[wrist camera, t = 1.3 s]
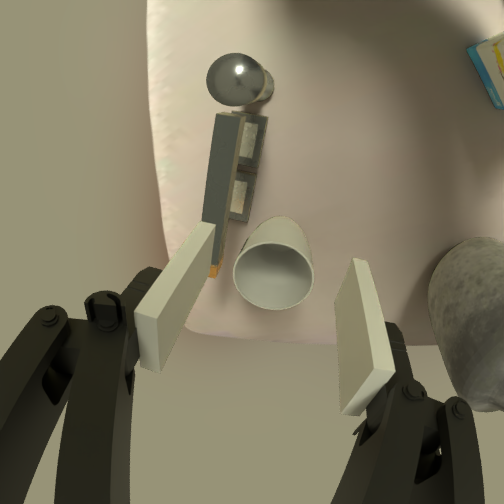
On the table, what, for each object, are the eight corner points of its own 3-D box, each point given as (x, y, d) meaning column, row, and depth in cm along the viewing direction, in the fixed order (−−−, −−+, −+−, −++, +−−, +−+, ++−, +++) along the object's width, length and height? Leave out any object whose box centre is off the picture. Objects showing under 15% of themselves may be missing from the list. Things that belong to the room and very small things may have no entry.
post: (241, 65, 30) (223, 57, 22) (277, 71, 29) (269, 63, 22) (236, 98, 32) (216, 99, 24) (270, 104, 31) (260, 106, 24)
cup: (248, 203, 38) (229, 239, 29) (314, 205, 36) (317, 243, 28) (250, 260, 42) (235, 307, 33) (311, 263, 40) (311, 312, 32)
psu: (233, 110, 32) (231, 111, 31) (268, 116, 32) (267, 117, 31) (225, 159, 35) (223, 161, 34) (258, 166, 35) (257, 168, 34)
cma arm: (220, 54, 22) (211, 50, 20) (271, 61, 22) (267, 57, 19) (193, 256, 32) (184, 270, 30) (233, 266, 32) (227, 281, 30)
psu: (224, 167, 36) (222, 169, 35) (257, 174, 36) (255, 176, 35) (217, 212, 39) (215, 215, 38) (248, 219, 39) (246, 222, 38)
